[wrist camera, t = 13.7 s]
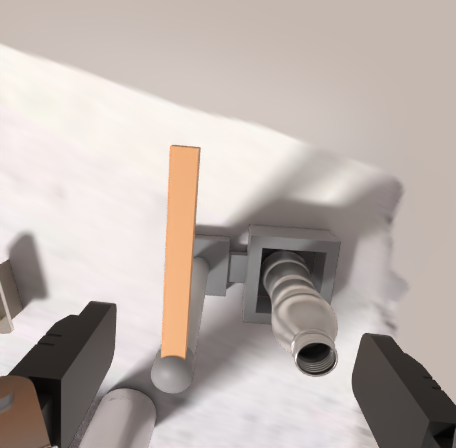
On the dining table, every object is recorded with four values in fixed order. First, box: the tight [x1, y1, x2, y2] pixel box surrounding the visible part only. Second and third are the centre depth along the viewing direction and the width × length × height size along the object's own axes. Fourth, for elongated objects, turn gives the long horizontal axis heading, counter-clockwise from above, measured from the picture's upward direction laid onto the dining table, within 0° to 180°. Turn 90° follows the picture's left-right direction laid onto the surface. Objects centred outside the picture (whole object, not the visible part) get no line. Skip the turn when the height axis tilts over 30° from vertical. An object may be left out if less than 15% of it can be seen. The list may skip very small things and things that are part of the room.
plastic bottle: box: [260, 251, 338, 377], centre depth 39 cm, size 6×7×20 cm
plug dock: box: [160, 224, 341, 356], centre depth 38 cm, size 12×22×21 cm, turn 86°
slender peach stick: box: [151, 145, 201, 393], centre depth 25 cm, size 19×3×2 cm, turn 175°
